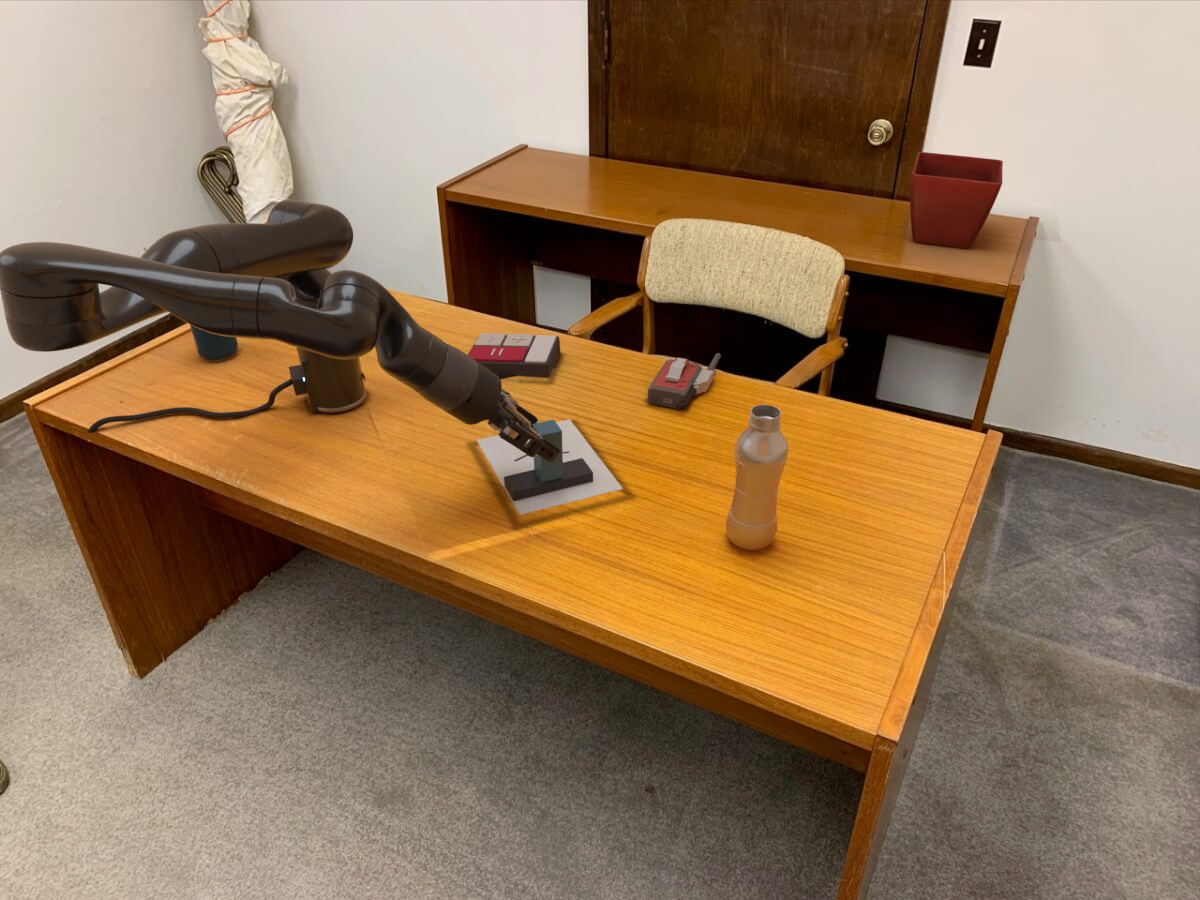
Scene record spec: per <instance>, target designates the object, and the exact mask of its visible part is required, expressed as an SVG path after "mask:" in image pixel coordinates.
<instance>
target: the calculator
mask: <svg viewBox="0 0 1200 900" xmlns="http://www.w3.org/2000/svg"><path fill="white" fill-rule="evenodd" d="M560 342H561V341H560V336H557V335H553V334H551V335H550V334H549V335H547V334H546V335H545V334H537V335H534V333H508V334H506V333H503V332H502V333H501V332H500V333H498V332H497V333H495V332H481V333H480V334H479V335H478V336H477V338H476V340H475V341H474V342H473V345H472V346H471V349H470V350H469V351H468V354H467V355H468V356H470V357H471V358H473V359H474V360H475V361H477V362H478V363H480V364H481V365H483V366H484V367H486V368H487V369H489V370H490V371H492V372H493V373H495V374H496V375H497V376H498V377H499V378H500V379H509V378H514V377H519V376H520V377H531V378H547V379H548V378H550V377H551V374H552V372H553V370H554V369H556V367H557V365H558V362H559V359H560V356H561V354H562V353H561V343H560Z"/></svg>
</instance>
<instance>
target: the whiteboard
mask: <svg viewBox="0 0 1200 900" xmlns="http://www.w3.org/2000/svg"><path fill="white" fill-rule="evenodd" d="M555 422H556V423H557V425H558V426H559V427H560V429H561V430H562V453H563V462H568V461H572V460H576V459H580V458H583V459H584V461H585V462H586V464H587V465H588V466H589V468H590V469H591V470H592V472H593V482H589V483H585V484H581V485H577V486H573V487H569V488H565V489H561V490H557V491H553V492H549V493H545V494H541V495H537V496H533V497H529V498H525V499H521V500H517V501H513V499H512V498H511V496H510V494H509V493H508V491H507V489H506V487H505V485H504V477H505V476H509V475H513V474H517V473H522V472H526V471H530V470H534V457H533V458H532V457H529V456H528V455H527V454H526V453H524V452H522V451H521V450H519V449H518V448H516V447H515V446H513V445H511V444H510V443H508V442H507V441H505V440H504V439H501V438H500V436H499V434H497V435H492V436H487V437H483V438H478V439H476V443H477V444H478V446H479V447H480V449H481V451H482V453H483V454H484V456H485V458H486V460H487V462H488V463H489V465H490V466H491V468H492V470H493V472H494V474H495V475H496V477H497V479H498V481H499V482H500V484H501V486H502V487H503V489H504V491H505V492H506V494H507V496H508V498H509V500H510V501H511V503H512V504H513V507H514V508H515V510H516V512H517V513H518V516H523V515H528V514H531V513H534V512H538V511H543V510H546V509H551V508H555V507H558V506H562V505H565V504H566V505H567V504H570V503H574V502H578V501H581V500H586V499H590V498H594V497H597V496H600V495H605V494H610V493H613V492H618V491H621V490H623V489H624V487H622V485H621V484H620V482H618V480H617V479H616V478H615V476H614V475H613V474H612V472H611V471H610V469H609V468H608V467H607V466H606V464H605V463H604V462H603V461H602V459H601V458H600V457H599V455H598V454H597V453H596V451H595V450H594V448H593V447H592V446H591V445H590V444H589V442H588V441H587V440H586V438H585V437H584V436H583V435H582V433H581V431H579V429H578V428H577V427H576V425H575V424H574V423H573V421H572V420H571V419H569V418H568V419H565V420H560V421H555ZM529 441H530V439H529V440H528V441H527V442H526V443H528V442H529Z"/></svg>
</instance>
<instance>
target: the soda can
mask: <svg viewBox="0 0 1200 900" xmlns="http://www.w3.org/2000/svg"><path fill="white" fill-rule="evenodd" d="M189 326H190V330H191V334H192V338H193V341H194V345H195V348H196V352H197V354H198V355H199V356H200V357H201V358H203V359H204V360H205V361H207V362H223V361H226V360H229V359H231V358H233V357H234V356H235V354H236V353H237V351H238V348H239V343H238V338H237V337H227V336H220V335H216V334H212V333H209V332H206V331H203V330H201V329H198V328H196V327H194V326H192V325H190V324H189Z"/></svg>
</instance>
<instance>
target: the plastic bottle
mask: <svg viewBox="0 0 1200 900" xmlns="http://www.w3.org/2000/svg"><path fill="white" fill-rule="evenodd" d="M747 422H748V424H747V425H748V427H747V428H746V429H745V430H744V431H743V432H742V433H741V434H740V435H739V436H738V438H737V440H736V442H735V444H734V445H735V446H734V459H735V461H734V462H735V481H734V482H735V483H734V492H733V496H732V502H731V505H730V508H729V511H728V513H727V516H726V520H725V529H726V530H725V532H726V536H727V537H728V539H729V540H730V542H731V543H732V544H733V545H734V546H736V547H738V548H740V549H743V550H747V551H757V550H761V549H765V548H766V547H767V546H769V545H771V543H772V542H773V541H774V539H775V537H776V534H777V531H778V513H777V508H778V507H777V506H778V493H779V487H780V484H781V478H782V475H783V472H784V469H785V466H786V463H787V460H788V456H789V452H790V448H789V444H788V440H787V439H786V438H785V435H784V434H783V432H782V431H781V430H780V429H781V426H782V410H781V409H780V408H779V407H777V406H775V405H772V404H765V403H763V404H757V405H754V406H752V407H751V408H750V411H749V418H748V421H747Z"/></svg>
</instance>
